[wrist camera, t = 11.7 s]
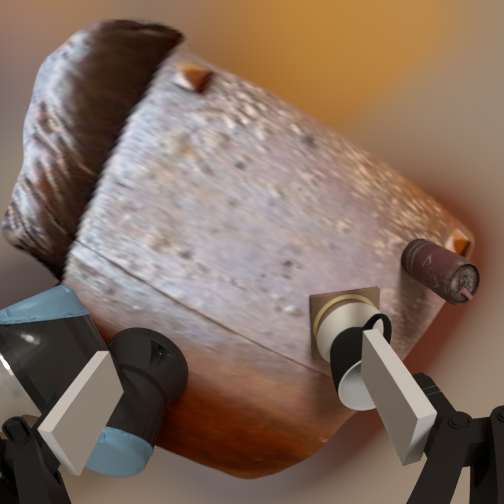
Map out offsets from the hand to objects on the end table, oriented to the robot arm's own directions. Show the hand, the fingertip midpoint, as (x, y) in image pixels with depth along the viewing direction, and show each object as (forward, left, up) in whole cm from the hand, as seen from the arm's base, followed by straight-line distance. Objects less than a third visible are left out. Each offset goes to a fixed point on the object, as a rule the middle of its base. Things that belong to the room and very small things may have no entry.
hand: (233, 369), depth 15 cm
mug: (+14, -15, -27) cm, 34 cm away
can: (+27, -6, -32) cm, 42 cm away
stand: (+14, -15, -32) cm, 38 cm away
